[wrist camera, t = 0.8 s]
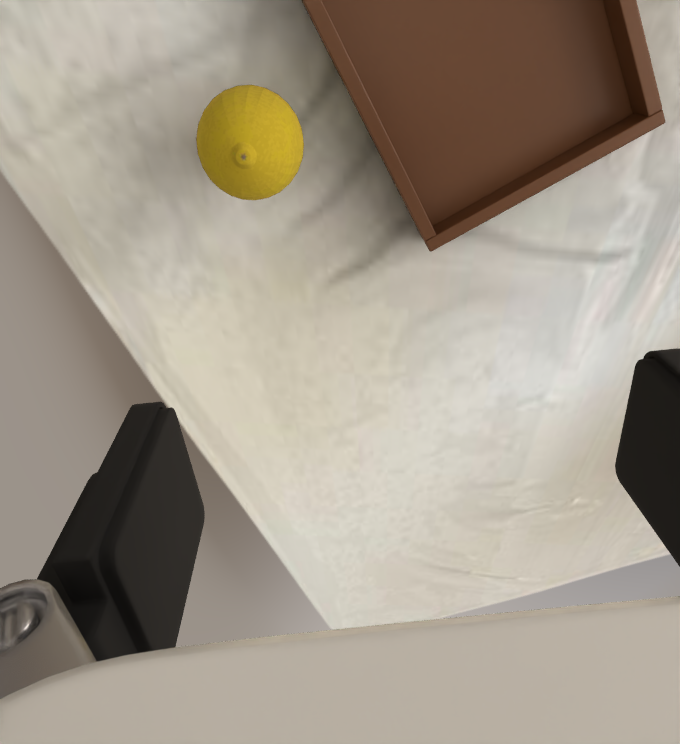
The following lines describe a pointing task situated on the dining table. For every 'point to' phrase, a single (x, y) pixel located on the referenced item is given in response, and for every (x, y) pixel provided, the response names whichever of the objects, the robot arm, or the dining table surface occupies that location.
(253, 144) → the lemon
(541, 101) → the tray
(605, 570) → the dining table surface
